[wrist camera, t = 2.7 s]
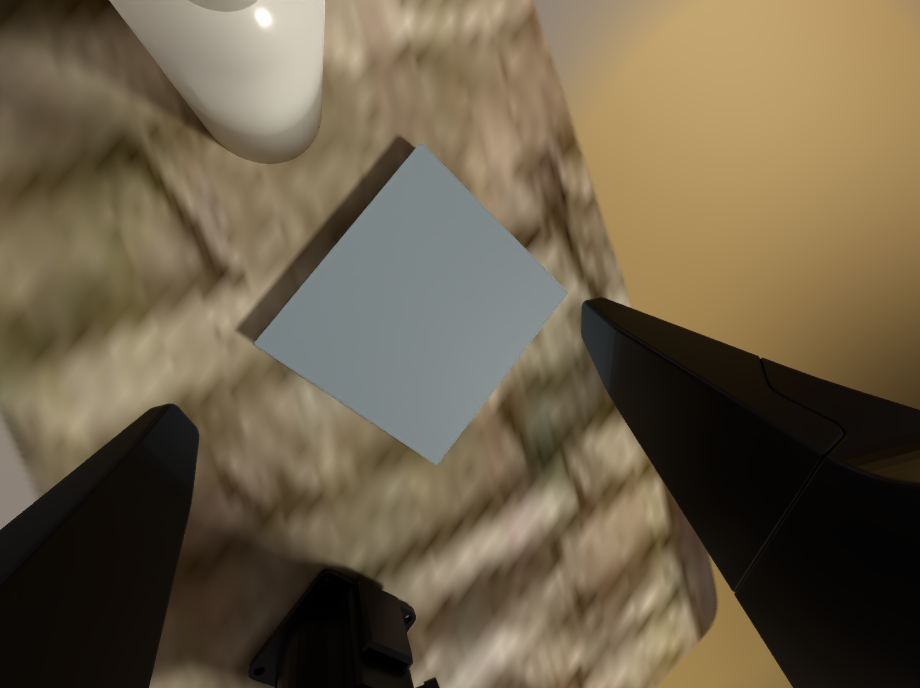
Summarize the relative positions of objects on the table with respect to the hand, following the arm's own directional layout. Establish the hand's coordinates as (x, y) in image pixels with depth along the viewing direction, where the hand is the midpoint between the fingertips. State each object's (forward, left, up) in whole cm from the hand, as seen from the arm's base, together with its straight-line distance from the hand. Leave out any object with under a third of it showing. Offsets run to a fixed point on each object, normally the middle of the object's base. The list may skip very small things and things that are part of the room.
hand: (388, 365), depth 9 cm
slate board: (+2, -3, -12) cm, 13 cm away
